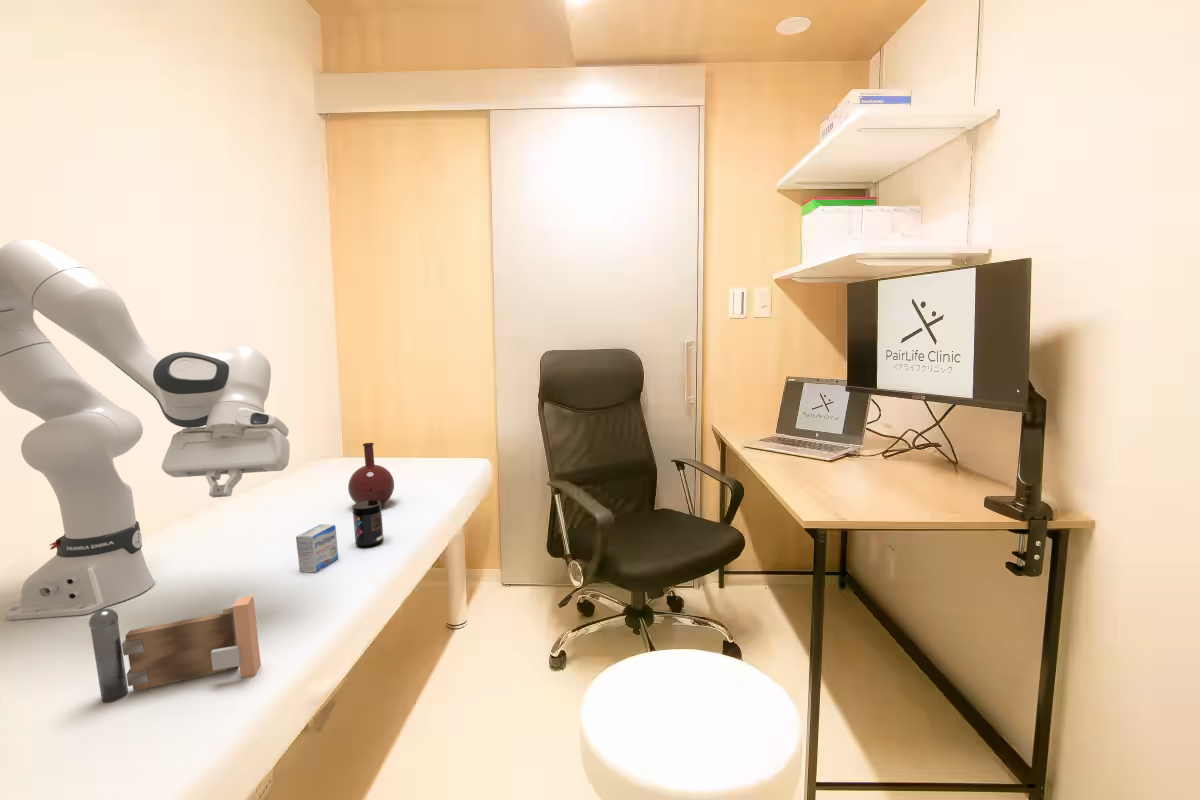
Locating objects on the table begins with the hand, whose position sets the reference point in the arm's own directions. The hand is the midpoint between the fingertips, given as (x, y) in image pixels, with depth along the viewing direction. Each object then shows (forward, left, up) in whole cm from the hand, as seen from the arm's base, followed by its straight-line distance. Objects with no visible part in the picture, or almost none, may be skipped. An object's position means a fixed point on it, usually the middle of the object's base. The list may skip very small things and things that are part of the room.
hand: (219, 496), depth 97 cm
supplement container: (+20, +35, -26) cm, 48 cm away
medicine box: (+10, +25, -26) cm, 37 cm away
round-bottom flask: (+18, +67, -26) cm, 74 cm away
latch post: (+5, -16, -25) cm, 30 cm away
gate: (-2, -15, -25) cm, 29 cm away
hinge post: (-11, -16, -25) cm, 32 cm away
